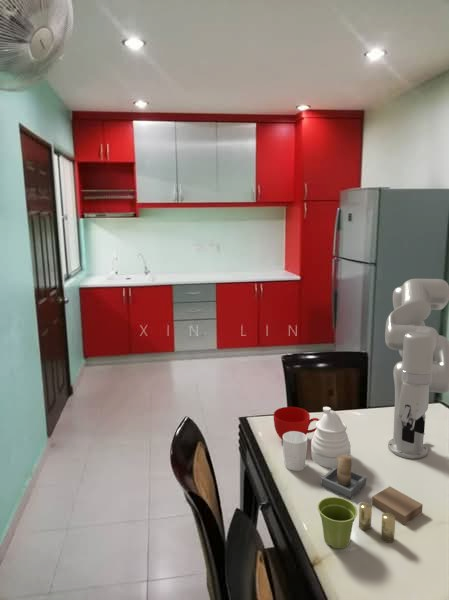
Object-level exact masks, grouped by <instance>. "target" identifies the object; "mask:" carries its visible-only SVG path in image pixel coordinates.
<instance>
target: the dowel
mask: <svg viewBox="0 0 449 600" xmlns="http://www.w3.org/2000/svg"><path fill="white" fill-rule="evenodd" d="M352 461H353V458H352V457H351V456H350V457H349V456H347V455H339V456H338V464H337V484H339V485H342V486H344V487H349V486H350V485H351V471H352V465H353V464H352Z"/></svg>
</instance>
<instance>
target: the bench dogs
mask: <svg viewBox="0 0 449 600" xmlns="http://www.w3.org/2000/svg"><path fill="white" fill-rule="evenodd" d="M358 510H359V511H358V515H359V516H358V528H359V530H361V531H363V532H369V531H371V530H372V515H373V513H372V512H373V511H372V510H373V505H372V504H370V502H369V503H368V502H360V503H359V509H358ZM395 528H396V520H395V516H394V515H392V514H390V513H384V512H383V513H382V515H381V535H380V536H381V540H382V541H383V542H384V543H387V544H392V543H394V542H395Z"/></svg>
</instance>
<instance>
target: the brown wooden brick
mask: <svg viewBox="0 0 449 600" xmlns="http://www.w3.org/2000/svg"><path fill="white" fill-rule="evenodd" d="M371 506H372V507H374V508H376V509H378V510H379V511H381V512H383V514H384V513H390V514H392V515H394V516H395V521H397V522H398V523H400V524H402V525H403V526H405V525H407V524H408V523H410V522H411V521H413V520H414V519H416V518H417V517H419V516H420V515H422V514H423V503H421V502H419V501H417V500H415V499H414V498H412V497H410V496H408V495H406V494H405V493H403V492H401V491H399V490H398V489H395V488H394V487H392V486H390V485H389V486H388V487H386V488H385V489H383V490H381V491H380V492H377V493H376V494H374V495H372V496H371Z"/></svg>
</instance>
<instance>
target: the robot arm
mask: <svg viewBox="0 0 449 600" xmlns="http://www.w3.org/2000/svg"><path fill="white" fill-rule="evenodd" d="M448 303H449V283H448V282H447V281H446V280H444V279H441V278H411V279H408V280H406V281H405V282H404V283H403V284H402V285H401V286H398V287H395V288H394V290H393V292H392V306H393V311H391V312H390V314H388V316H387V318H386V320H385V321H386V322H385V329H384V331H385V333H384V340H385V341H384V342H385V345H386V346H387V347H388V349H390V350H392V351H393V350H394V351H398V352H399V353H398V354H399V355H400V357H401V358H402V360H401V361H397V362H396V364H395V365H394V367H393V373H392V374H393V382H394V413H393V416H394V419H393V436H392V437H393V438H391V439H390V440H388V443H387V447H388V450H389V451H391V453H393V454H394V455H396V456H399V457H402V458H406V459H412V460H413V459H414V460H418V459H423V458H425V457H426V456H427V455H428V453H429V449H428V447H427V445H426V444H424V438H425V437H424V436H425V435H426V433H425V426H426V425H425V424H426V413H427V411H428V409H429V400H430V392H431V393H439V394H444V393H448V392H449V340H448V339H447V337H445V335H440V334H439V333H438V330H436V328H434V327H433V326H427V325H426V323H425V320H426V319H428V318H429V316H430V315H431V312H432V311H439V310H441V311H442V310H443V309H444V308H445V307H446V306H447V304H448Z"/></svg>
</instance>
